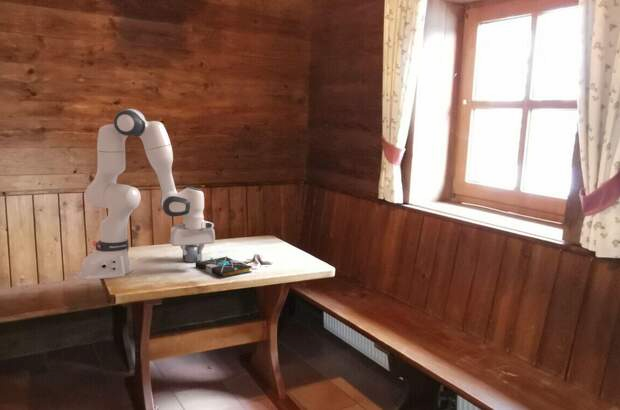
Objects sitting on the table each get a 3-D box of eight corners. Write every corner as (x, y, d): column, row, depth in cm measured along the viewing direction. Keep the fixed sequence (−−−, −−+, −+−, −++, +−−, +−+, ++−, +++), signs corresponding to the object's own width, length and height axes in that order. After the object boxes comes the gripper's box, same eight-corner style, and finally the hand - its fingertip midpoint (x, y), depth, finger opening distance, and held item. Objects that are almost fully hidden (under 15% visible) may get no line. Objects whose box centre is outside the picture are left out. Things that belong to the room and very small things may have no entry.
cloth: (247, 272, 237) (248, 259, 236) (231, 262, 252) (231, 250, 251) (290, 267, 249) (290, 254, 248) (271, 257, 264) (272, 246, 263)
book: (195, 268, 240) (195, 257, 239) (226, 262, 251) (226, 252, 250) (220, 280, 224) (220, 268, 223) (252, 273, 235) (252, 262, 235)
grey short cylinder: (188, 262, 230) (189, 248, 229) (182, 259, 234) (183, 245, 233) (199, 261, 234) (200, 247, 233) (193, 258, 238) (194, 244, 237)
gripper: (173, 225, 222) (172, 257, 224) (217, 224, 235) (215, 254, 236) (168, 223, 227) (167, 254, 229) (210, 221, 240) (209, 251, 241)
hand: (192, 254), depth 233 cm, fingers closed on grey short cylinder, 5 cm apart
